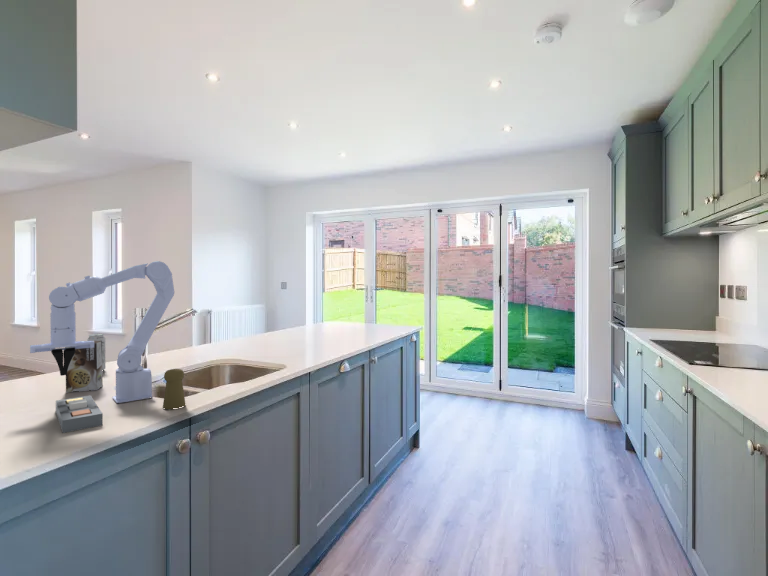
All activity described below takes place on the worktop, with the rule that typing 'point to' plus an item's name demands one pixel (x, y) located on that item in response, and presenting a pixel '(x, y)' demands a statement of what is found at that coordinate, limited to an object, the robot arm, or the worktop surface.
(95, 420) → the keypad
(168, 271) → the robot arm
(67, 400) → the brass key
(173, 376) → the cork
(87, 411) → the terracotta key
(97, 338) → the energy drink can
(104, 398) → the worktop surface
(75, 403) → the grey key
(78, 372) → the coffee box
